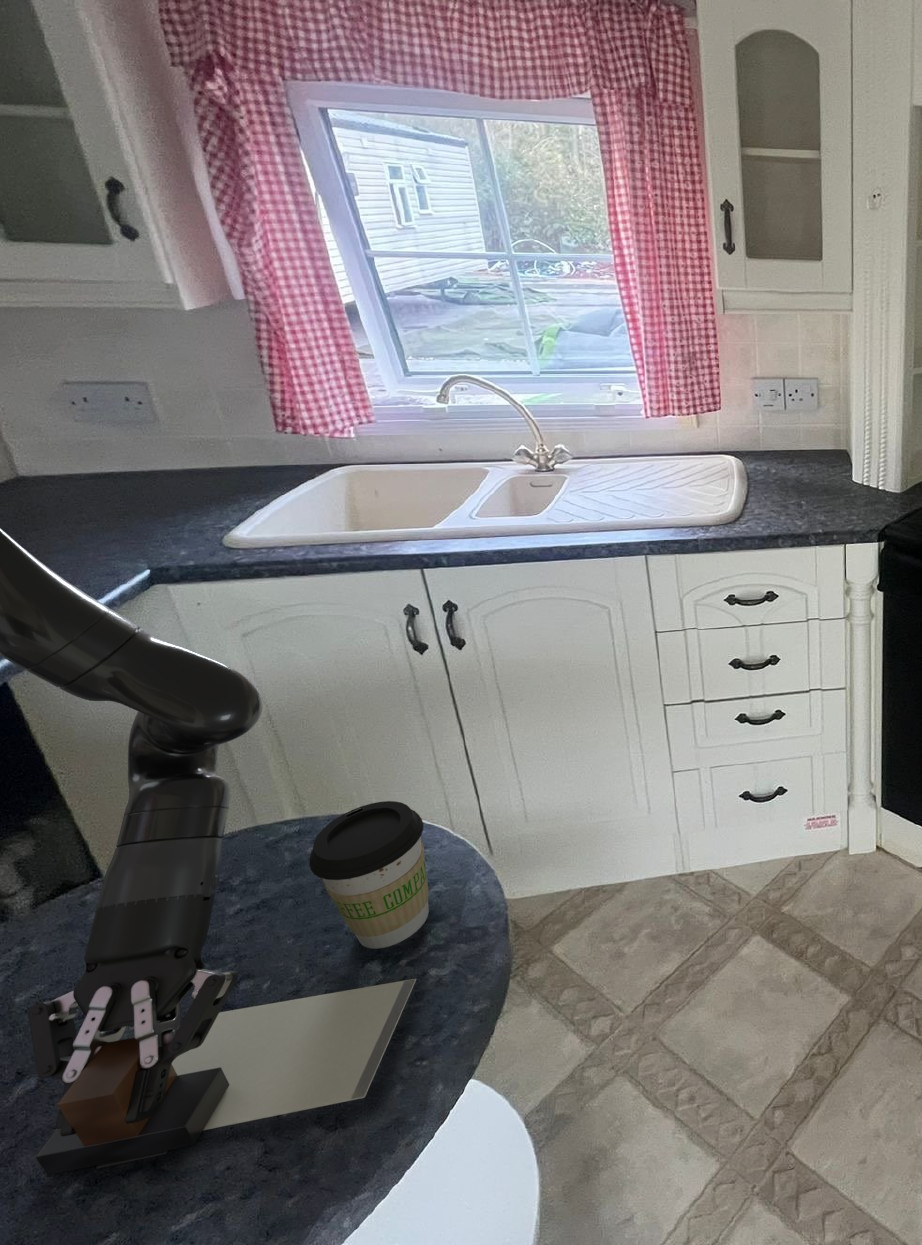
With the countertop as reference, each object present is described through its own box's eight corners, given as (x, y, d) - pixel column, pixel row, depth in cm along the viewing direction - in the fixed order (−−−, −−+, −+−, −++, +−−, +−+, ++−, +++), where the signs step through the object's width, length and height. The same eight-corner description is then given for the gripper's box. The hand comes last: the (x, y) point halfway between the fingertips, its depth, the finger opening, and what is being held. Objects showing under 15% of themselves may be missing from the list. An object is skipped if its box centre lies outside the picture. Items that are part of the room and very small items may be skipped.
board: (97, 1163, 65) (90, 1153, 64) (190, 1028, 76) (185, 1018, 75) (368, 1108, 70) (364, 1097, 69) (419, 988, 81) (416, 978, 80)
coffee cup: (357, 989, 80) (317, 882, 75) (332, 934, 86) (293, 830, 80) (461, 930, 87) (433, 827, 82) (432, 882, 93) (403, 784, 87)
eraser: (47, 1175, 63) (4, 1114, 60) (93, 1111, 67) (56, 1050, 64) (194, 1145, 65) (161, 1084, 62) (230, 1084, 70) (200, 1025, 67)
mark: (104, 1163, 64) (100, 1172, 64) (100, 1159, 64) (95, 1168, 63) (174, 1148, 66) (170, 1157, 65) (170, 1145, 65) (165, 1153, 65)
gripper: (22, 913, 64) (-48, 1165, 58) (225, 884, 68) (180, 1119, 61) (95, 908, 71) (39, 1133, 64) (276, 882, 74) (240, 1093, 68)
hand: (108, 1125), depth 63 cm, fingers closed on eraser, 3 cm apart
